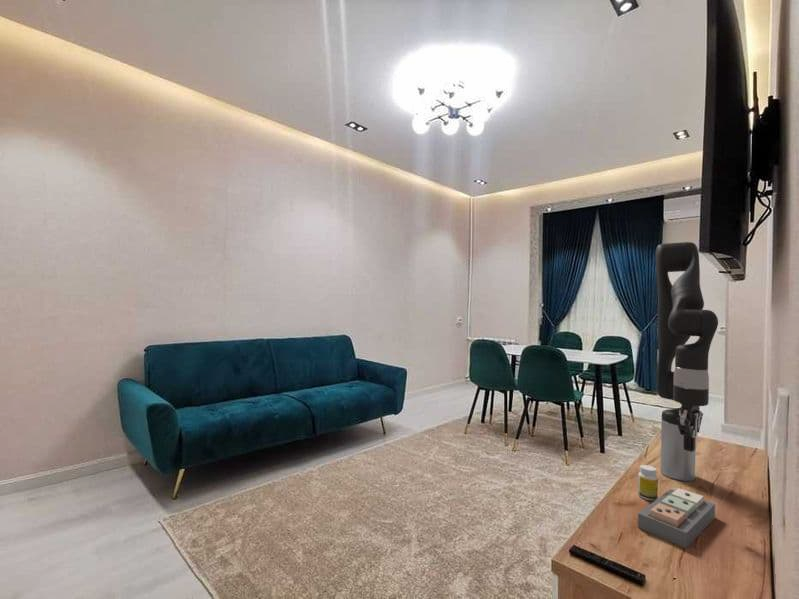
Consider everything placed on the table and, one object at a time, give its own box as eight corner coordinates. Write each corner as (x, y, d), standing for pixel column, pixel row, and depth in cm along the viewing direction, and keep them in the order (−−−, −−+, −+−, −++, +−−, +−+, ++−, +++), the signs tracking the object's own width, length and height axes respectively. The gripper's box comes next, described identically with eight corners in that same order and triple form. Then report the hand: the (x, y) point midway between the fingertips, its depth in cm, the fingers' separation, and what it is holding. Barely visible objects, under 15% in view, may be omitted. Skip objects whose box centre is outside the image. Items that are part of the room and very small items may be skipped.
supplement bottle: (660, 502, 110) (661, 472, 110) (641, 500, 111) (642, 470, 111) (652, 494, 115) (653, 465, 115) (635, 492, 116) (635, 463, 116)
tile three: (658, 514, 99) (659, 501, 99) (685, 525, 95) (685, 511, 95) (650, 522, 96) (650, 508, 96) (676, 533, 92) (677, 519, 92)
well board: (670, 501, 111) (670, 488, 111) (714, 517, 103) (715, 504, 103) (637, 527, 97) (638, 513, 97) (686, 548, 89) (686, 532, 89)
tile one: (678, 498, 108) (678, 486, 108) (703, 507, 104) (703, 495, 104) (670, 504, 105) (671, 492, 105) (696, 514, 100) (696, 501, 100)
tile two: (669, 506, 104) (669, 493, 104) (694, 515, 99) (694, 502, 99) (660, 512, 100) (661, 499, 100) (687, 523, 96) (687, 509, 96)
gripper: (682, 379, 111) (681, 440, 111) (665, 385, 103) (663, 451, 103) (715, 384, 105) (714, 449, 105) (700, 391, 97) (698, 461, 97)
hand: (689, 450), depth 104 cm, fingers closed
